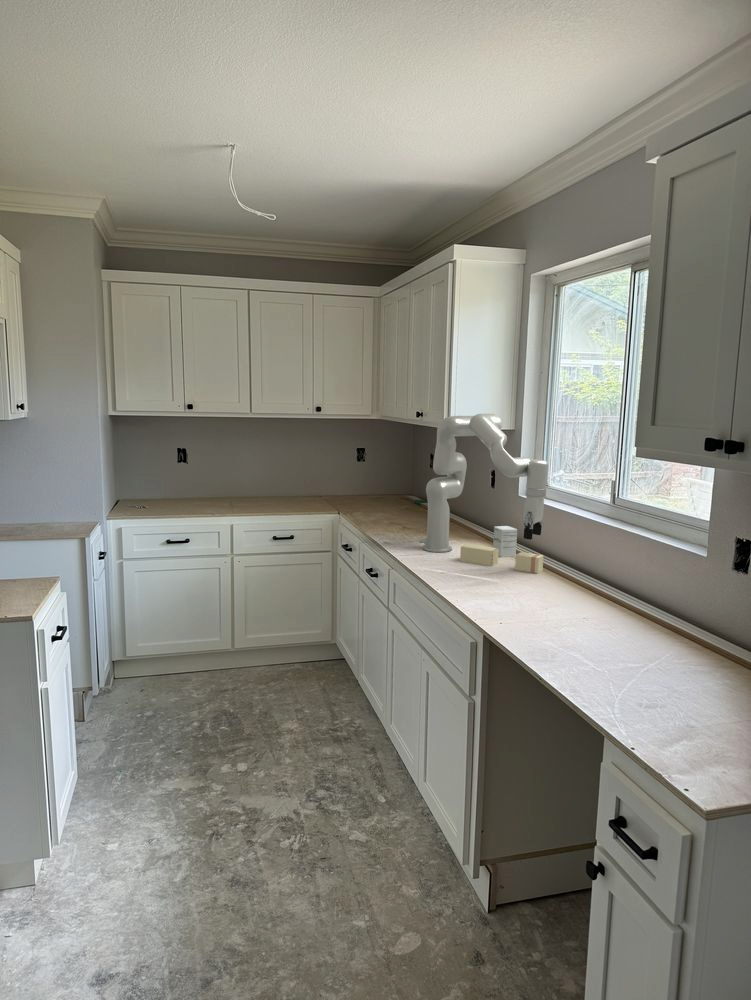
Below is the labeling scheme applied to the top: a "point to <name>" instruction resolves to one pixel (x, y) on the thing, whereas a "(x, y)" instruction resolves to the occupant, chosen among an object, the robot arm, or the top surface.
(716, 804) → the top surface
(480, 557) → the block
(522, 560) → the stub
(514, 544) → the supplement box
